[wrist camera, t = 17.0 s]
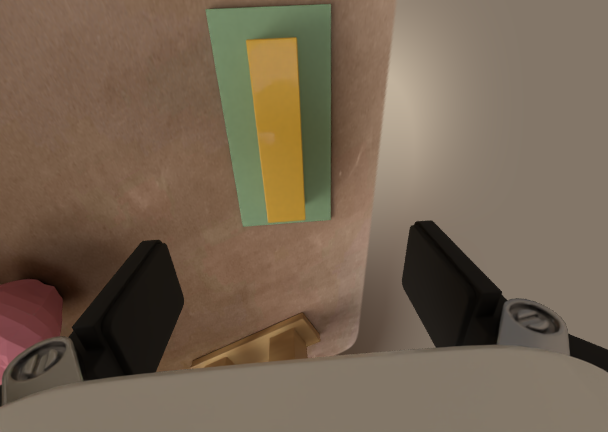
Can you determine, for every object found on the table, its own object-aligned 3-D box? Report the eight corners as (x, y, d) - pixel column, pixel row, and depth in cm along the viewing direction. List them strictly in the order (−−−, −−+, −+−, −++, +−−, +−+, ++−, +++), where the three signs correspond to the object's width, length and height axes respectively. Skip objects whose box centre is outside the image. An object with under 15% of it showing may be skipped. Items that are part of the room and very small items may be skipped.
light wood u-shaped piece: (302, 312, 36) (308, 383, 28) (319, 334, 38) (330, 406, 30) (192, 360, 38) (170, 437, 31) (215, 379, 41) (199, 455, 33)
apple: (-19, 296, 31) (-136, 389, 22) (3, 243, 28) (-123, 325, 19) (74, 330, 34) (4, 422, 26) (102, 285, 31) (33, 371, 23)
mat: (330, 218, 29) (330, 220, 29) (243, 224, 29) (242, 226, 29) (330, 4, 21) (331, 4, 20) (206, 9, 20) (205, 9, 20)
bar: (249, 42, 21) (245, 39, 19) (294, 40, 21) (297, 37, 19) (269, 208, 28) (267, 223, 25) (303, 205, 28) (305, 220, 25)
